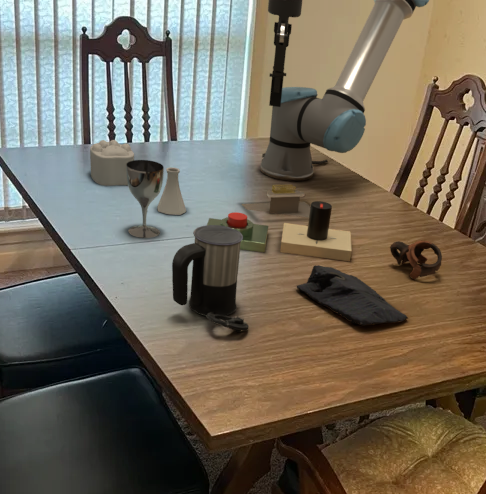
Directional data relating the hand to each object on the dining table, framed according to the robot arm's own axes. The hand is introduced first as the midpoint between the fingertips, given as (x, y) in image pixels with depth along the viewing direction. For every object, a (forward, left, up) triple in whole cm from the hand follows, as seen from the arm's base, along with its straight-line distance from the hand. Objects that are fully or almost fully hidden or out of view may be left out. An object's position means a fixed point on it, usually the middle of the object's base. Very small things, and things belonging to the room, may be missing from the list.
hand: (274, 105), depth 185 cm
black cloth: (+19, +53, -25) cm, 61 cm away
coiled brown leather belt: (-6, +47, -25) cm, 53 cm away
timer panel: (+6, +27, -24) cm, 37 cm away
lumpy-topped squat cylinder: (+27, -31, -25) cm, 48 cm away
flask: (+25, -5, -25) cm, 35 cm away
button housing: (+21, +16, -24) cm, 36 cm away
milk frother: (+46, +45, -25) cm, 69 cm away
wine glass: (+38, +4, -25) cm, 45 cm away
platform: (-1, +6, -25) cm, 25 cm away
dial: (+6, +27, -22) cm, 35 cm away
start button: (+21, +16, -21) cm, 34 cm away
